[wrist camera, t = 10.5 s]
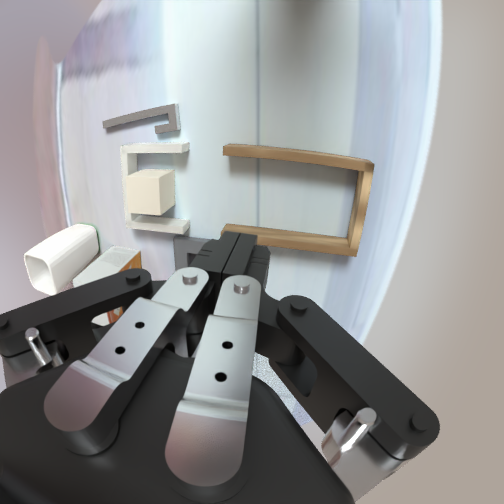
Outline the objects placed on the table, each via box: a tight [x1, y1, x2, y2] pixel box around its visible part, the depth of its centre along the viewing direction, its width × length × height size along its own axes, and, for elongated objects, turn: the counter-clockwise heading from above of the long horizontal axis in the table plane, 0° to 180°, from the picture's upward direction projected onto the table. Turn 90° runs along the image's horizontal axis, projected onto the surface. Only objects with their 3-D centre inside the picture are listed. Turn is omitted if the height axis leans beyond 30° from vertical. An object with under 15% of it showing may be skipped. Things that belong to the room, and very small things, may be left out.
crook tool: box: [102, 104, 181, 134], centre depth 38 cm, size 4×13×1 cm, turn 95°
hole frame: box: [173, 236, 210, 271], centre depth 48 cm, size 9×9×1 cm
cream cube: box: [126, 169, 175, 215], centre depth 41 cm, size 6×6×6 cm
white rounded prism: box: [24, 224, 99, 296], centre depth 43 cm, size 7×7×15 cm
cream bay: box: [120, 142, 190, 234], centre depth 42 cm, size 13×10×3 cm
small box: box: [73, 245, 141, 326], centre depth 46 cm, size 8×6×13 cm
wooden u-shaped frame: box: [221, 144, 374, 257], centre depth 39 cm, size 13×20×4 cm
